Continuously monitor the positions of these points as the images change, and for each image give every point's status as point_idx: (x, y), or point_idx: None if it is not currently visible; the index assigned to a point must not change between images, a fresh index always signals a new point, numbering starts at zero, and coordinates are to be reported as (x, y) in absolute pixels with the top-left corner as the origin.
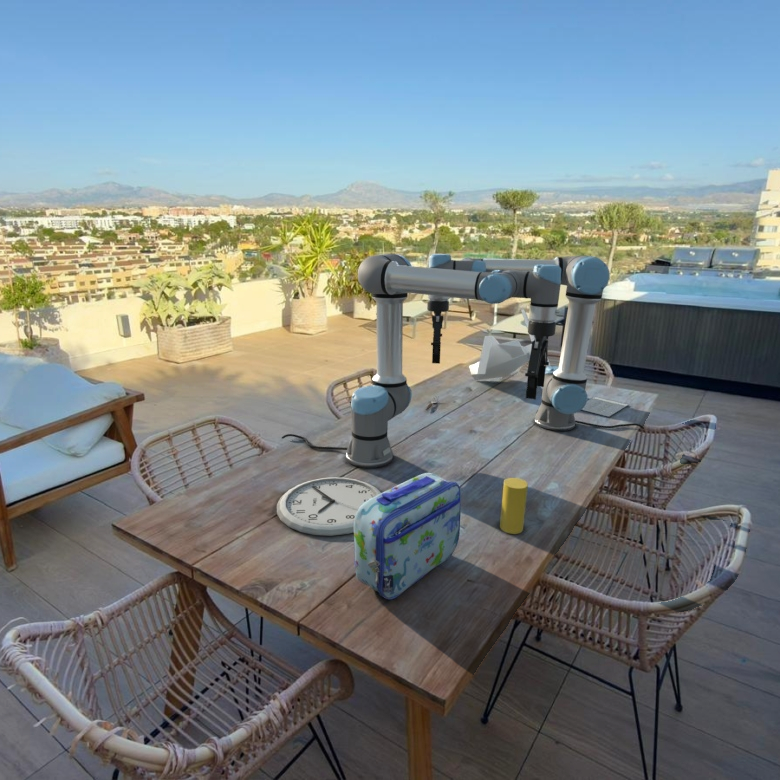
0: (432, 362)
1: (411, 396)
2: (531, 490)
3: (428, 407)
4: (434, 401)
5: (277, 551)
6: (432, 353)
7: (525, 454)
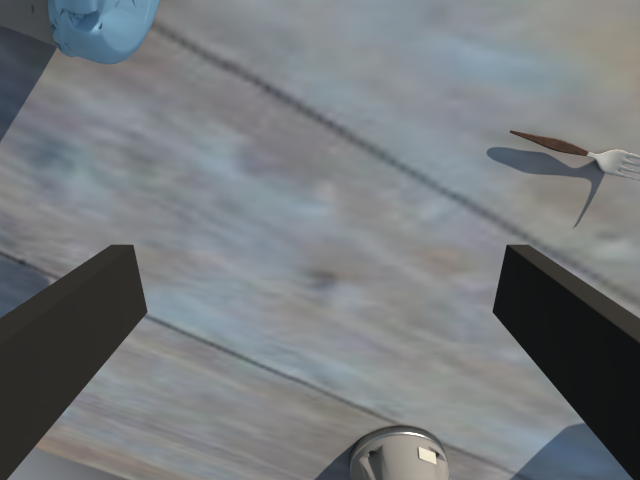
0: (107, 251)
1: (102, 63)
2: None
3: (535, 141)
4: (615, 163)
5: None
6: (34, 298)
7: (193, 382)
